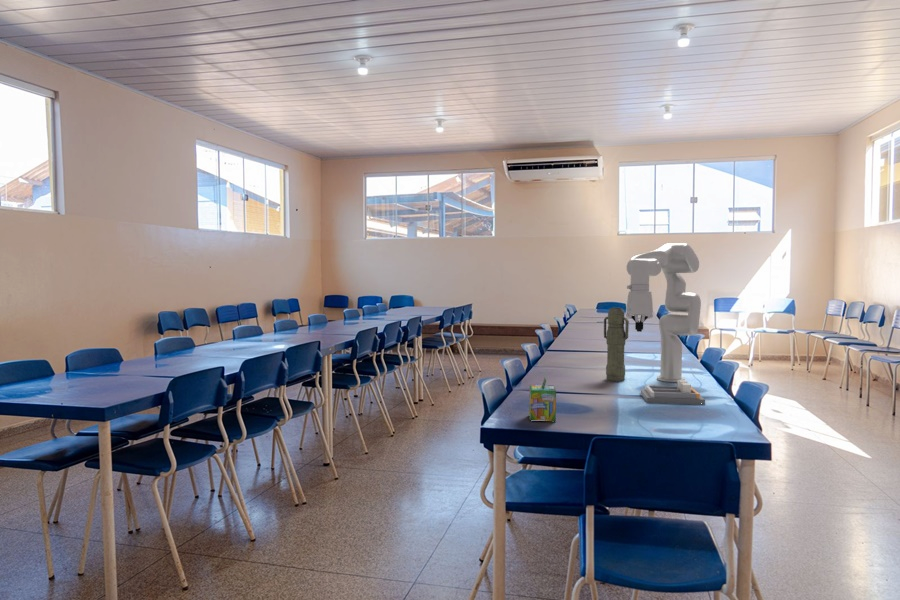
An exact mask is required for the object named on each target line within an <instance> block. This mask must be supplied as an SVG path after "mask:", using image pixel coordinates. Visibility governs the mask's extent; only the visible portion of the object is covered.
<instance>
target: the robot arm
mask: <svg viewBox="0 0 900 600" xmlns="http://www.w3.org/2000/svg"><path fill="white" fill-rule="evenodd" d="M699 268H700V261H699V257H698V255H697V254H696V253H695V251H694V248H693V247H692V246H691V245H689V244H688V243H685V242H683V243H682V242H680V243H677V242H676V243H675V242H674V243H665V244H662V245H661V246H659V247H657V248H656V249H655V250H651V251H648V252H644V253H641V254H638V255H635V256H633V257H631V258H630V259H629V260H628V262H627V264H626V271H627V273H628V275H630V283H629V285H626V289H628V290H629V291H628V294H627V301H626V316H625V318H627V319H628V318H630V319H632V321H634V322H635V325H634V328H635V331H636V332H639V333H641V332H643V331H642V330H644V322H645V321H646V320H648V319H651V318H653V317H654V316H653V312H654V311H653V309H654V307H653V305H654V304H653V303H654V302H653V295H652V291H650V277H656V276H658V275H660V273H661V272H663V274H664V277H665V280H666V290H665V298H664V299H665V300H664V308H665V310H666V311H667V312H671V313H682V314H671V313H670V314H665V315H664V314H663V315H662V316H661V317H660V318H659V320H658V327H659V328H658V329H659V332H660V333H659V335H660V372H659V373H660V374H659V375H657V377H656V379H657V380H658V381H662V382H665V383H666V382H667V383H677V380H686V378H685V377H683V375H682V372H683V367H682V366H683V365H682V364H683V342H682V341H681V339H680V337H679V336H689V337H691V336H695V335H697V333H698V332H699V325H700V319H701V318H700V317H701V310H702V309H701V307H702V301H701V297H700V296H699V295H698V293H695V292H686V287H687V282H686V281H685V279H684V277H683V276H682V275H681V274H693V273H696V272H697V271H698V270H699ZM684 313H685V314H684ZM638 316H640V320H639V317H638Z"/></svg>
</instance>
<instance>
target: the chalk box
mask: <svg viewBox="0 0 900 600" xmlns="http://www.w3.org/2000/svg"><path fill="white" fill-rule="evenodd" d="M546 382H547V378H546V377H544V379H543V381H542V384H529V395H528V396H529V397H528V398H529V400H528V403H529V404H528V405H529V406H528V417H529V416H530V417H529V421H530V420H545V421H546V420H547V421H556V422H557V420H556V419H557V418H556V417H557V416H556V410H557V409H556V407H557V390H556V387H555V385H546Z"/></svg>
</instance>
